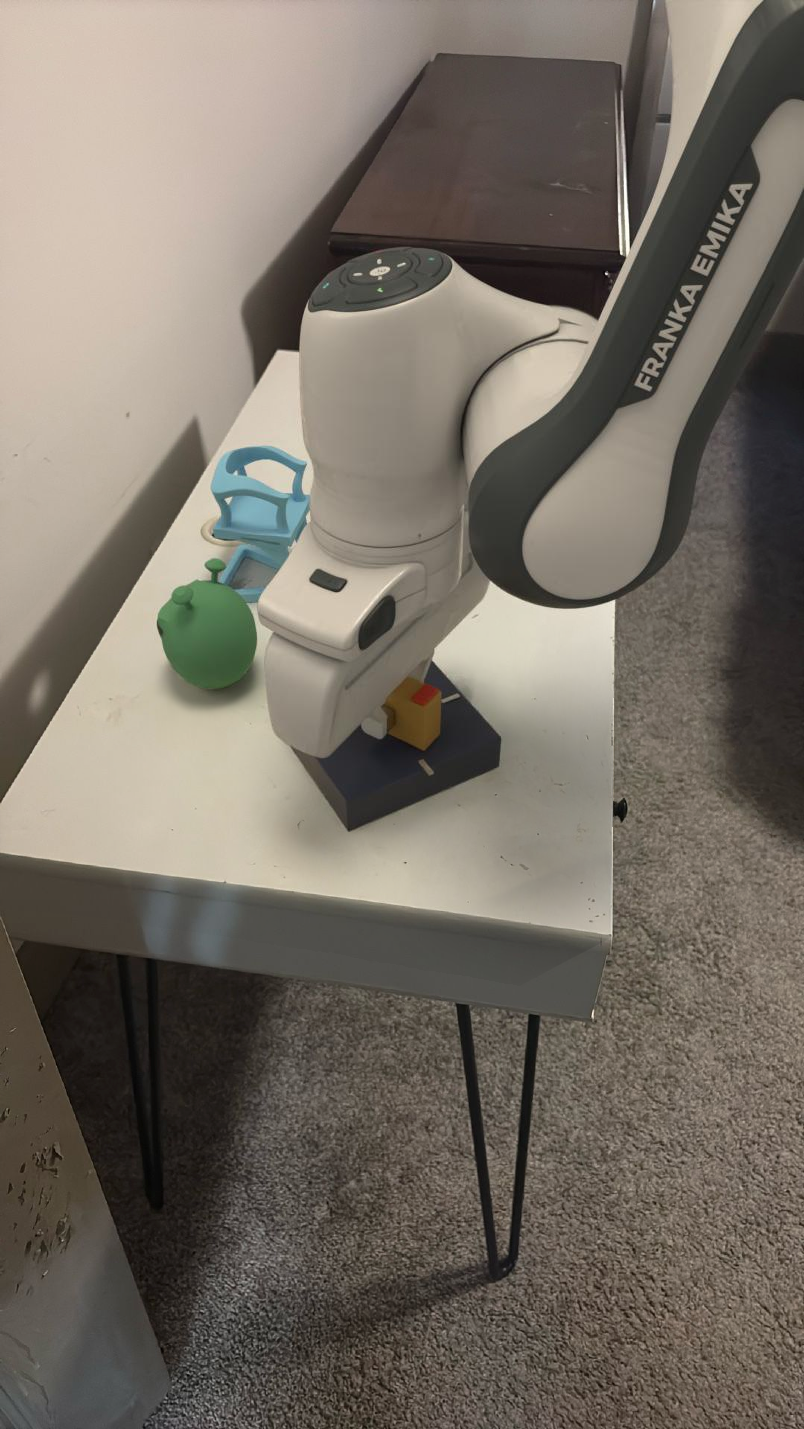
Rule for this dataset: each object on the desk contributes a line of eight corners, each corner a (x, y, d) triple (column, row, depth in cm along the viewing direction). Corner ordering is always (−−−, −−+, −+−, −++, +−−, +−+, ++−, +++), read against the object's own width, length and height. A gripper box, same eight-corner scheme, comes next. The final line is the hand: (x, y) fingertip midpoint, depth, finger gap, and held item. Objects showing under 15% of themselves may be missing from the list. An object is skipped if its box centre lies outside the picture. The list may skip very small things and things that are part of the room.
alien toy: (197, 637, 81) (177, 533, 74) (279, 664, 79) (266, 558, 72) (145, 690, 76) (119, 584, 70) (231, 720, 74) (212, 613, 67)
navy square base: (423, 680, 77) (424, 649, 75) (504, 772, 70) (507, 741, 68) (281, 734, 73) (277, 702, 71) (352, 838, 66) (350, 807, 64)
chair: (306, 615, 83) (295, 488, 75) (211, 603, 84) (190, 477, 76) (330, 562, 88) (321, 439, 80) (240, 552, 90) (223, 429, 81)
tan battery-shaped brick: (341, 711, 70) (338, 666, 67) (358, 695, 71) (356, 650, 69) (424, 751, 67) (425, 705, 64) (440, 734, 69) (441, 688, 66)
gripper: (436, 455, 66) (435, 619, 76) (235, 618, 54) (263, 788, 64) (520, 482, 64) (507, 648, 73) (329, 659, 52) (343, 830, 61)
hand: (392, 714), depth 68 cm, fingers closed on tan battery-shaped brick, 2 cm apart
